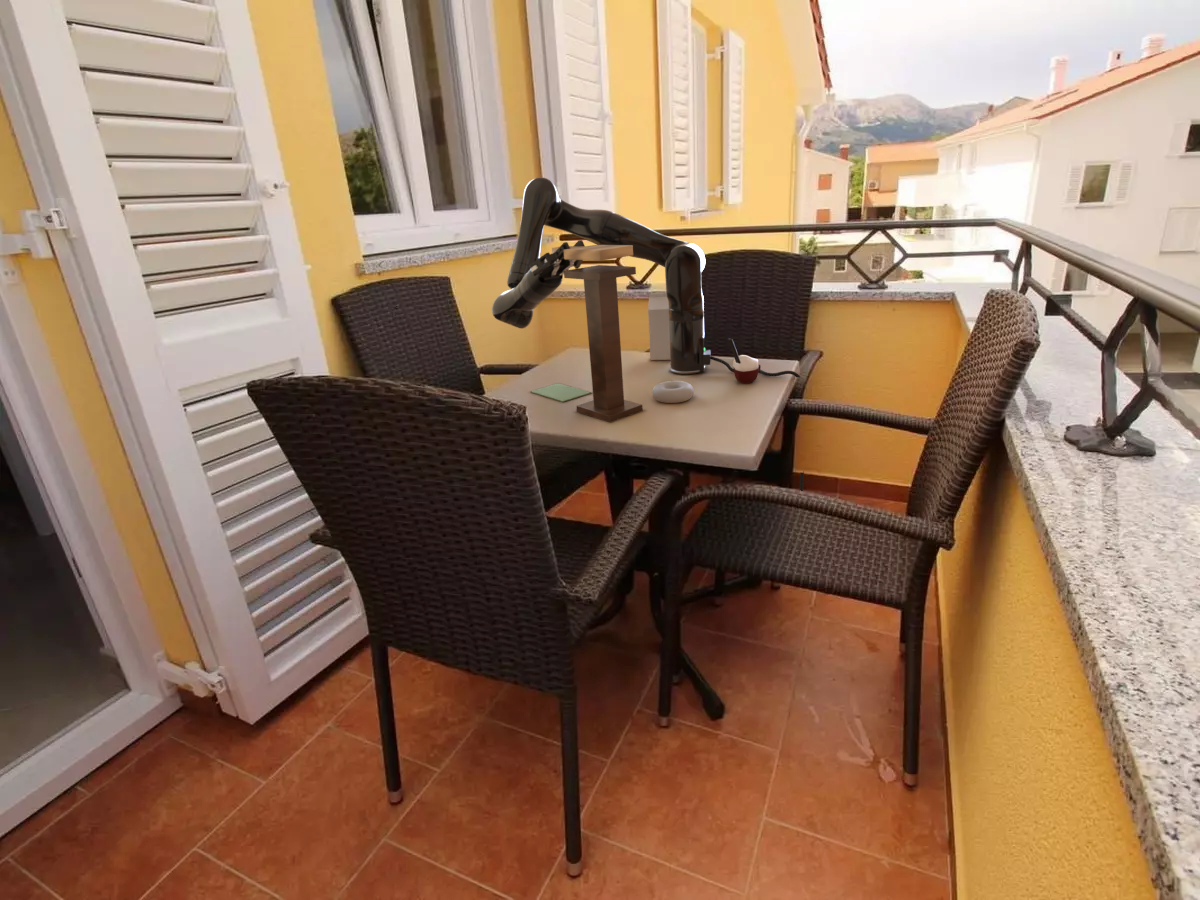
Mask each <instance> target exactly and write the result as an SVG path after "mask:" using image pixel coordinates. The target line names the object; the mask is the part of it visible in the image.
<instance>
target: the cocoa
mask: <svg viewBox="0 0 1200 900" xmlns="http://www.w3.org/2000/svg"><path fill="white" fill-rule="evenodd" d="M727 341H728V343H729V346H730V349H731V352H732V355H733V358H734V359H733V360H732V366H733V367H732V368H733V369H734V372H733V373H734V377H735V380H736V381H738V382H739V383H741V384H752V383H753V382H755V381H756V380H757V379H758V376H759V374H760V373H759V371H760V370H761V367H762V366H761V364H759V360H758V359H757V358H754V357H751V356H749V355H746V354H740V355H739V354H738V351H737V348H736V345H735V342H734V339H733V338H730V337H728V338H727Z"/></svg>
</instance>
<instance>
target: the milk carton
mask: <svg viewBox="0 0 1200 900" xmlns="http://www.w3.org/2000/svg"><path fill="white" fill-rule="evenodd" d="M647 315H648V316H647V317H648V338H649V340H648V341H649V360H650V361H670V333H669V303H668V299H667V294H666V292H654V293H648V306H647Z"/></svg>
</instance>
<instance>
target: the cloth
mask: <svg viewBox="0 0 1200 900" xmlns="http://www.w3.org/2000/svg"><path fill="white" fill-rule="evenodd" d="M530 393H532V394H535V395H539V396H541V397H545V398H548V399H551V400H554V401H557V402H561V403H565V402H569V401H571V400H575V399H577V398H581V397H584V396H588V395H591V394H592V392H591V391H588V390H584V389H581V388H577V387H573V386H569V385H566V384H562V383H559V382H557V383H554V384H550V385H548V386H543V387H541V388H537V389H534V390H530Z"/></svg>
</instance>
